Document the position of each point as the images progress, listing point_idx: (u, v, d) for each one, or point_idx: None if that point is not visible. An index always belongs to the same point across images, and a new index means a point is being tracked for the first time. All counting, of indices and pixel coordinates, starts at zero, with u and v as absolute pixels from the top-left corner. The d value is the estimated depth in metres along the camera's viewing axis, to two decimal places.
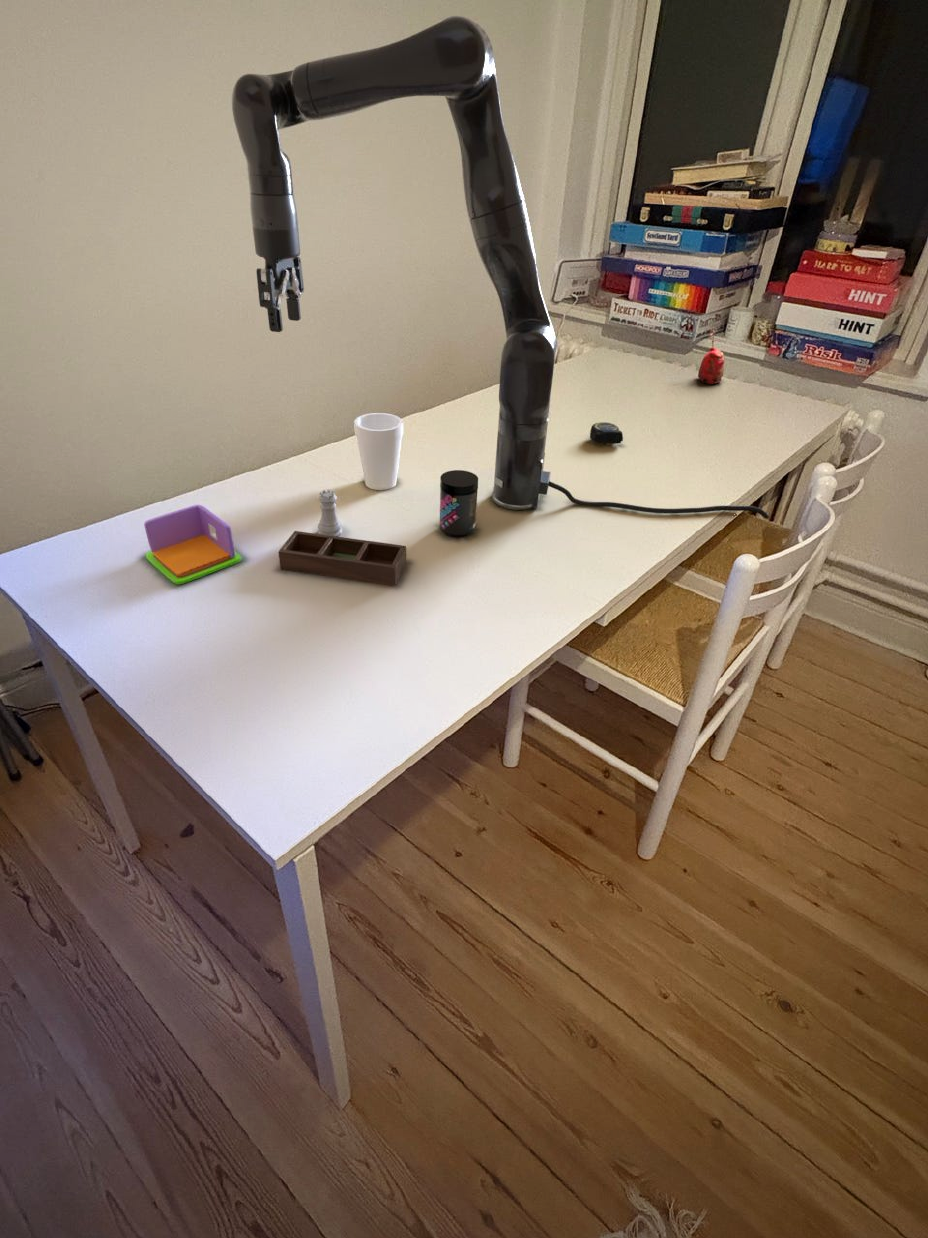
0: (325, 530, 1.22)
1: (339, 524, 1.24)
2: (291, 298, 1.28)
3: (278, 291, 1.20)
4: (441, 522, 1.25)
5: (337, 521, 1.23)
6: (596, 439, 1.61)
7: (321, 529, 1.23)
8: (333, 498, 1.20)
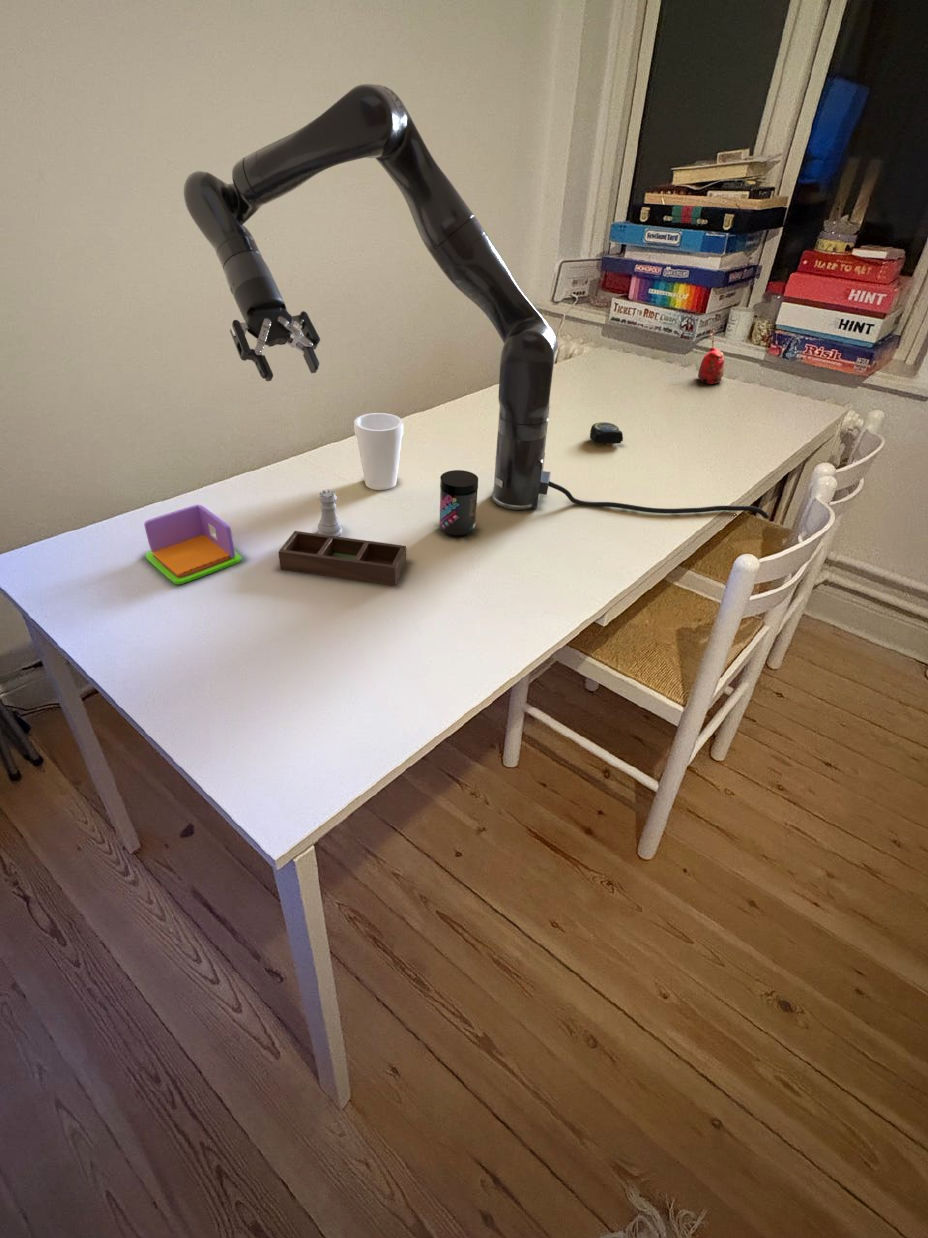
0: (325, 530, 1.22)
1: (339, 524, 1.24)
2: (304, 351, 1.21)
3: (257, 339, 1.16)
4: (441, 522, 1.25)
5: (337, 521, 1.23)
6: (596, 439, 1.61)
7: (321, 529, 1.23)
8: (333, 498, 1.20)
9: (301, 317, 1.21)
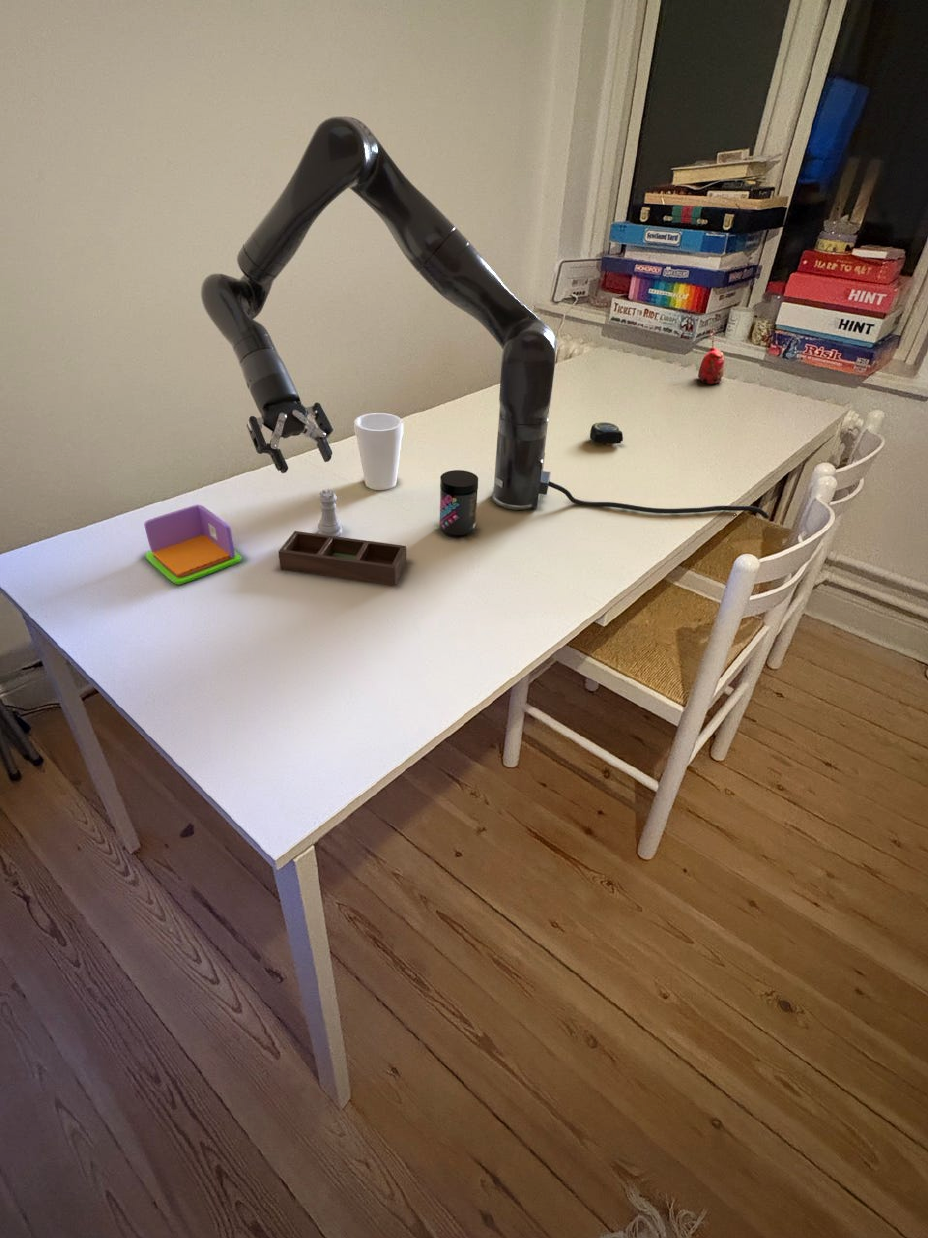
0: (325, 530, 1.22)
1: (339, 524, 1.24)
2: (318, 441, 1.25)
3: (273, 434, 1.20)
4: (441, 522, 1.25)
5: (337, 521, 1.23)
6: (596, 439, 1.61)
7: (321, 529, 1.23)
8: (333, 498, 1.20)
9: (315, 408, 1.25)
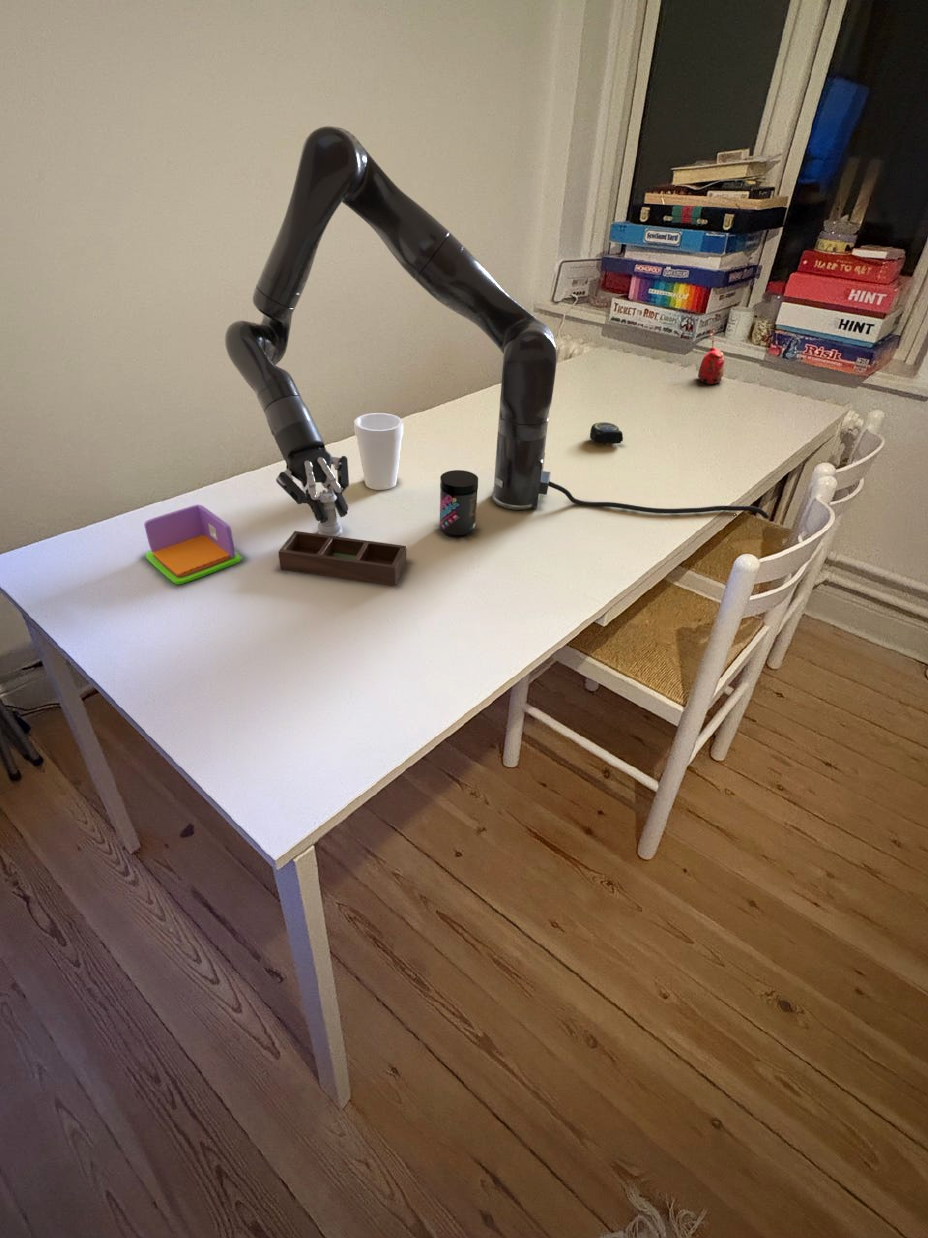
0: (325, 530, 1.22)
1: (339, 524, 1.24)
2: None
3: None
4: (441, 522, 1.25)
5: (337, 521, 1.23)
6: (596, 439, 1.61)
7: (321, 529, 1.23)
8: (333, 498, 1.20)
9: (340, 460, 1.24)
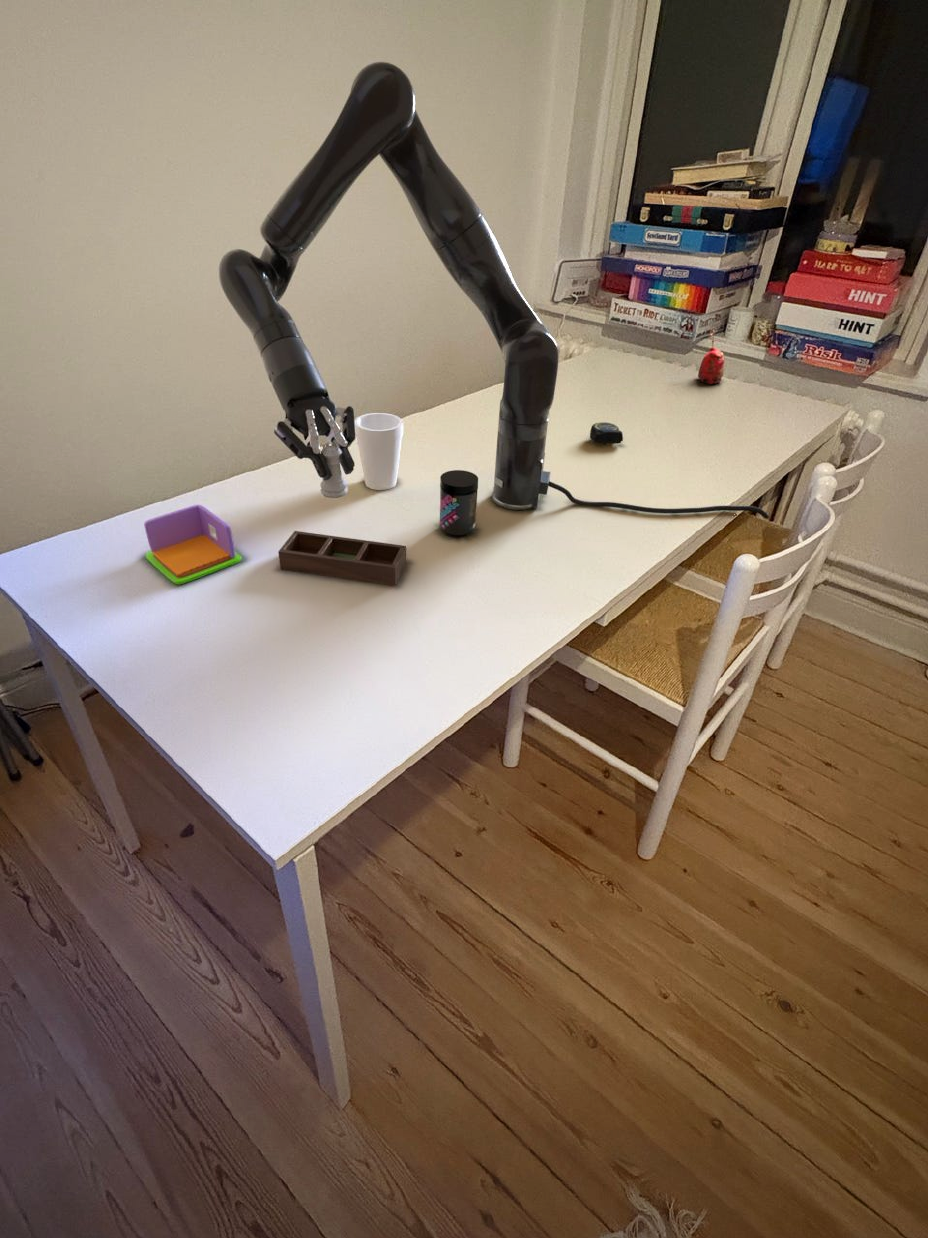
0: (328, 489, 1.10)
1: (344, 482, 1.11)
2: None
3: None
4: (441, 522, 1.25)
5: (342, 479, 1.11)
6: (596, 439, 1.61)
7: (324, 488, 1.10)
8: (337, 452, 1.07)
9: (346, 411, 1.11)
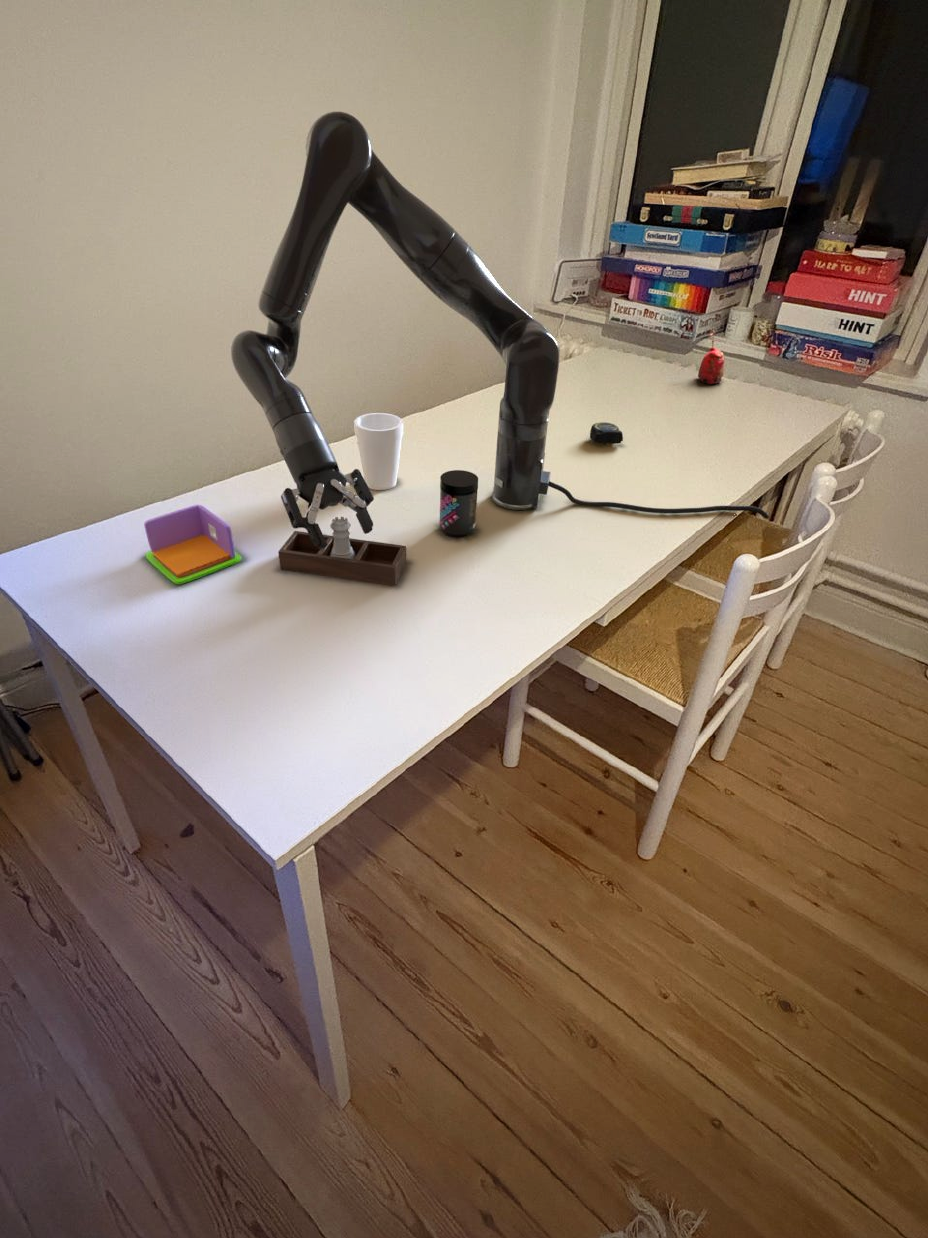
0: None
1: (353, 553, 1.15)
2: (357, 511, 1.14)
3: (310, 506, 1.09)
4: (441, 522, 1.25)
5: (351, 550, 1.14)
6: (596, 439, 1.61)
7: None
8: (346, 526, 1.11)
9: (354, 475, 1.14)
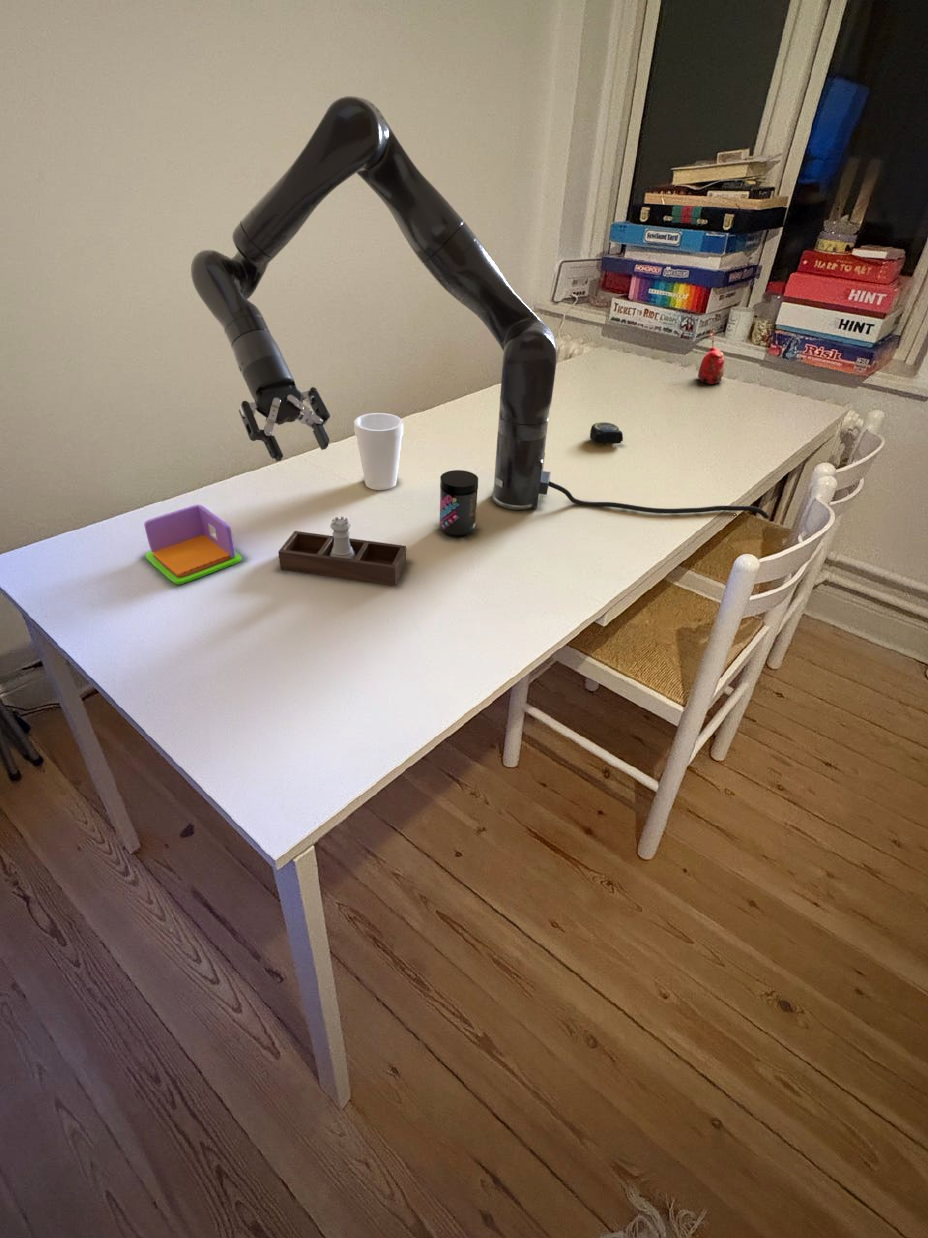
0: None
1: (353, 553, 1.15)
2: (314, 428, 1.19)
3: (267, 419, 1.14)
4: (441, 522, 1.25)
5: (351, 550, 1.14)
6: (596, 439, 1.61)
7: None
8: (346, 526, 1.11)
9: (311, 393, 1.19)
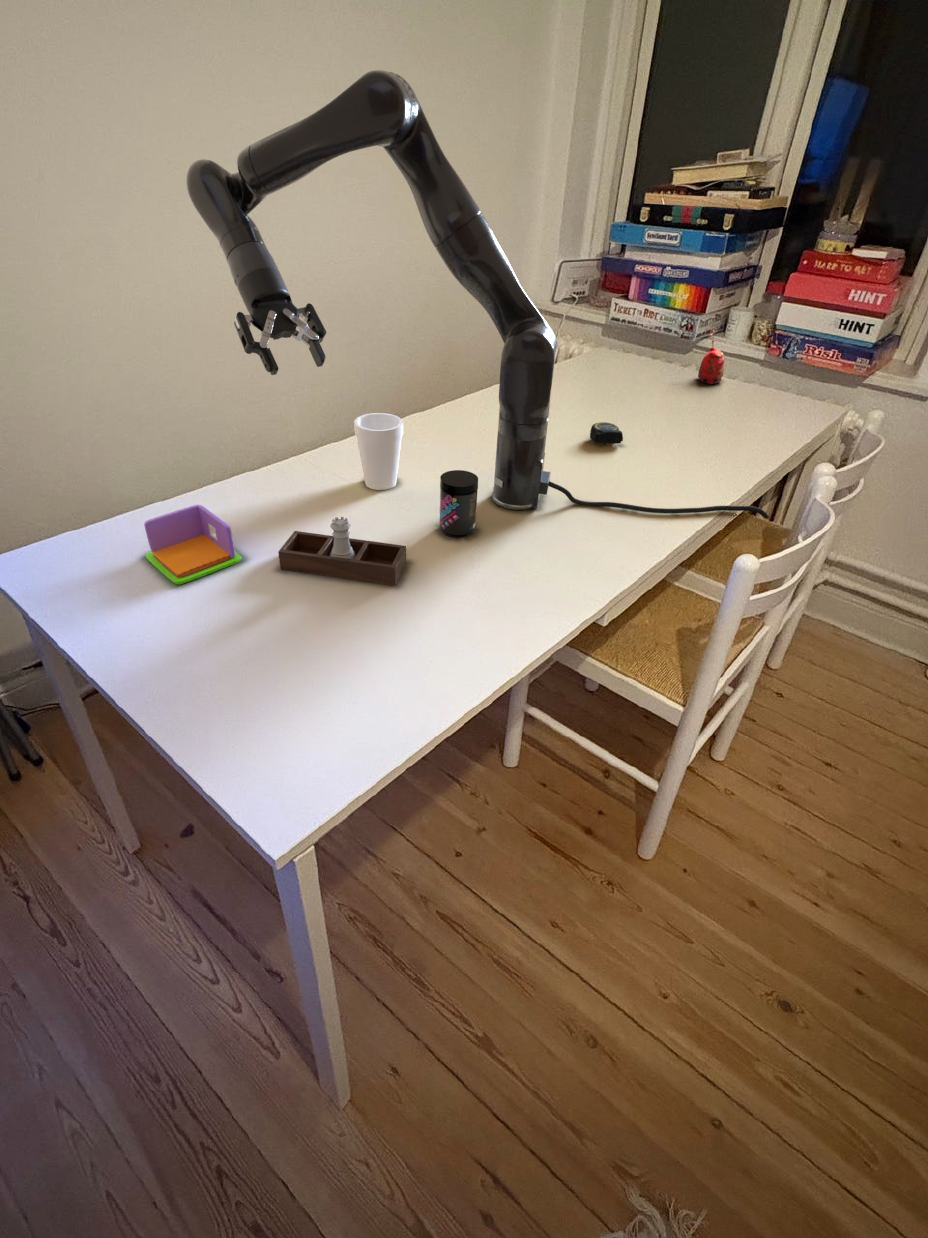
0: None
1: (353, 553, 1.15)
2: (310, 344, 1.18)
3: (262, 332, 1.13)
4: (441, 522, 1.25)
5: (351, 550, 1.14)
6: (596, 439, 1.61)
7: None
8: (346, 526, 1.11)
9: (307, 309, 1.18)
